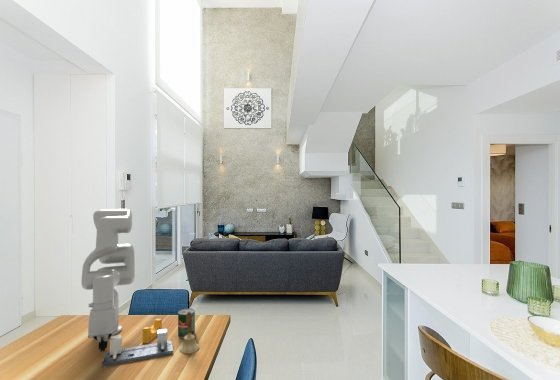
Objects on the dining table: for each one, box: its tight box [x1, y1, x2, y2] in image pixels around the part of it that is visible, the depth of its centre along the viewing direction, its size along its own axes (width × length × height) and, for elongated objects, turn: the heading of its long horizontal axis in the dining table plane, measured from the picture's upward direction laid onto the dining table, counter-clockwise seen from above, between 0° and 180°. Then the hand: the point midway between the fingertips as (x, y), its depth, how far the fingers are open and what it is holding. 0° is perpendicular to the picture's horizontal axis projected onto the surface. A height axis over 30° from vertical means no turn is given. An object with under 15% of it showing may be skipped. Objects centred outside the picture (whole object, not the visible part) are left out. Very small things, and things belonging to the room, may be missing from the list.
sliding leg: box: [109, 334, 123, 359], centre depth 128 cm, size 8×4×6 cm, turn 23°
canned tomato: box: [177, 308, 196, 339], centre depth 151 cm, size 8×8×11 cm
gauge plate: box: [101, 328, 174, 368], centre depth 132 cm, size 10×26×8 cm, turn 113°
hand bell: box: [178, 312, 200, 355], centre depth 137 cm, size 8×8×16 cm
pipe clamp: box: [142, 318, 163, 344], centre depth 149 cm, size 12×4×6 cm, turn 171°
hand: (103, 350), depth 129 cm, fingers closed
